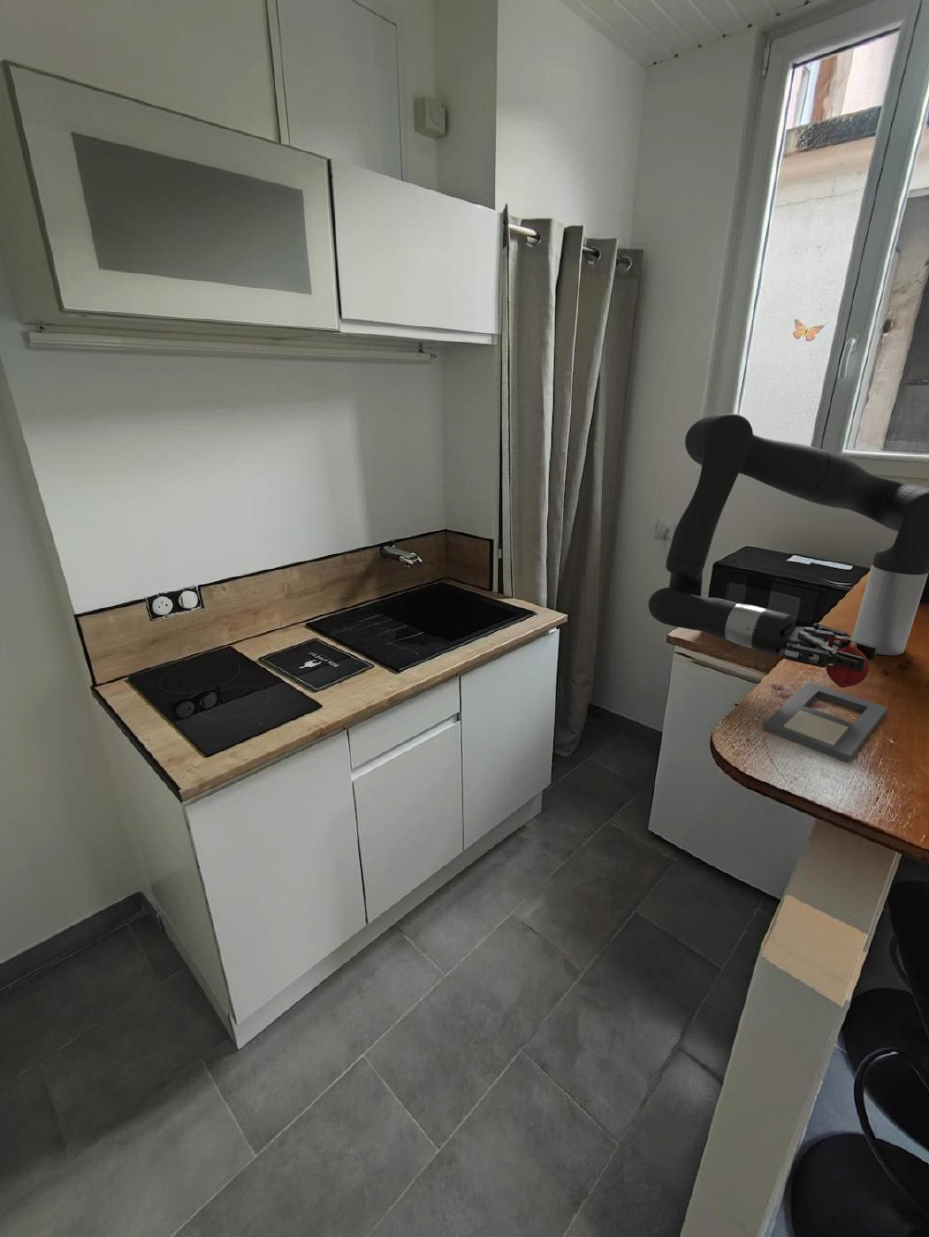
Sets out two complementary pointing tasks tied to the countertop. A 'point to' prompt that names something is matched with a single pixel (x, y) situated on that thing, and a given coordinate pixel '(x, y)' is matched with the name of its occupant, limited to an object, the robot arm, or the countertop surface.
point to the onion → (845, 675)
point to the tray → (825, 722)
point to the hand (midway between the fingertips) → (869, 659)
